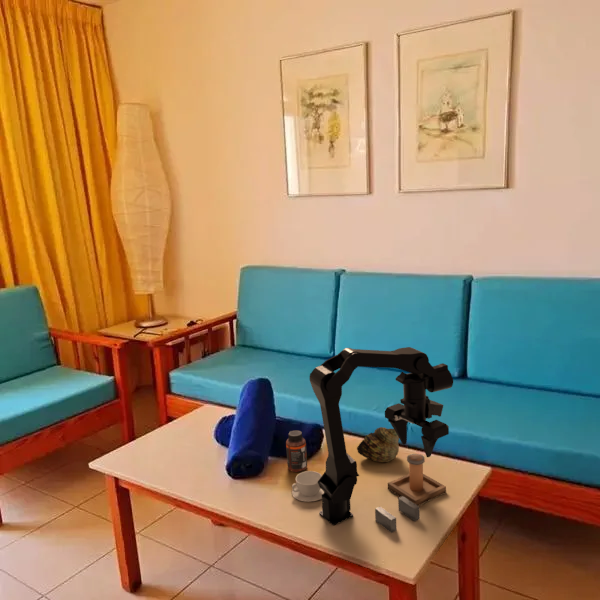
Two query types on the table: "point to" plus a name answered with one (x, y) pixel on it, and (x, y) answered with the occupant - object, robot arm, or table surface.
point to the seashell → (380, 445)
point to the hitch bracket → (390, 521)
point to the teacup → (307, 487)
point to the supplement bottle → (296, 451)
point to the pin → (416, 471)
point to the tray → (428, 493)
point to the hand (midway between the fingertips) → (416, 450)
